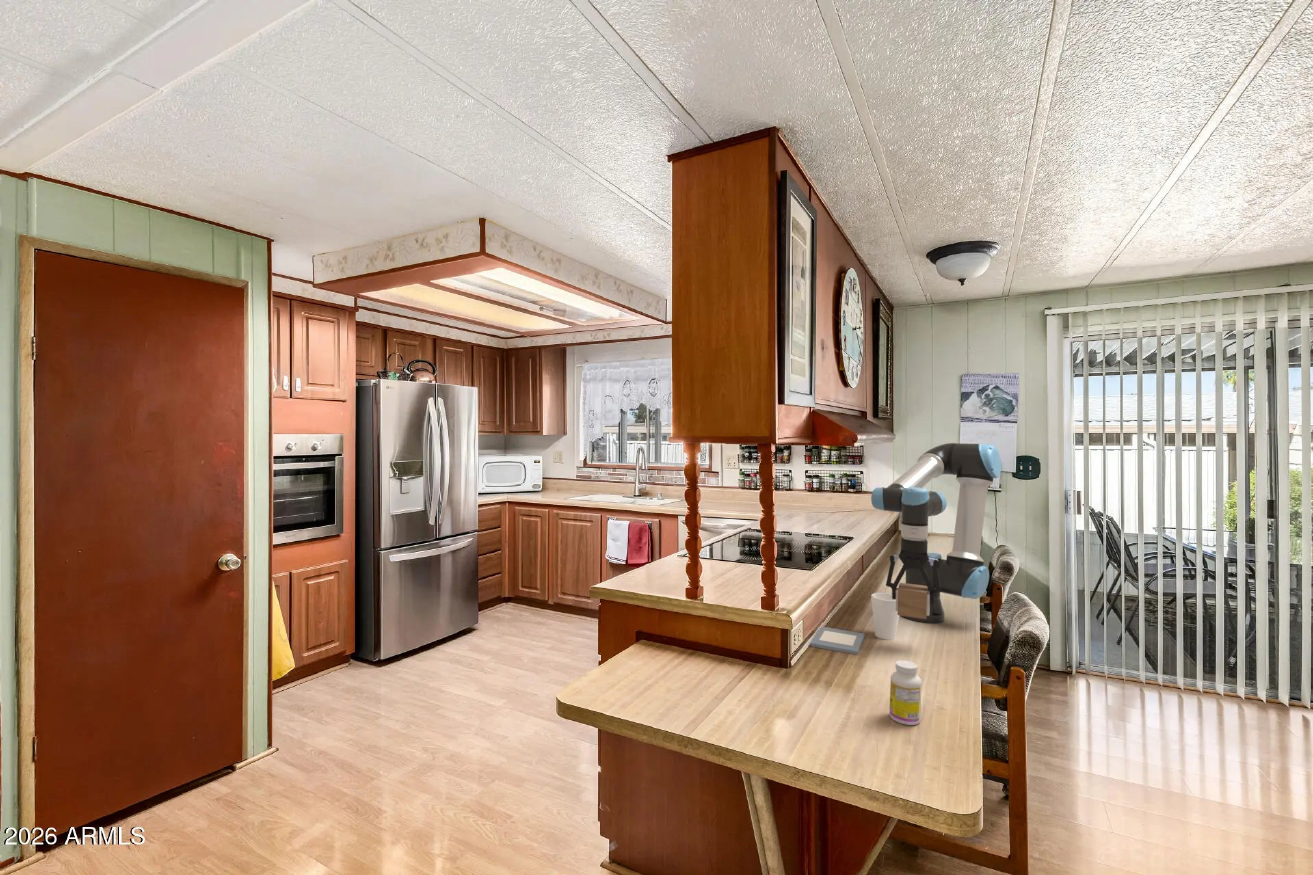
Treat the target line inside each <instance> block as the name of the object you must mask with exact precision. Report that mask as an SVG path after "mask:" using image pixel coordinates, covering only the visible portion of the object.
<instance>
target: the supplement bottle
mask: <svg viewBox="0 0 1313 875" xmlns="http://www.w3.org/2000/svg"><path fill="white" fill-rule="evenodd" d="M917 672H918V664H916V663H914V662H912V661H909V660H897V661H895V671H894V672H892V673H891V676H890V684H889V685H890V688H889V689H890V690H889V691H890V692H889V694H890V695H889V698H890V699H889V716H890V718H891V719H892V720H893V721H894V722H897V723H899V724H901V725H905V726H906V725H907V726H914V725H918V724H920V723H921V718H922V717H921V713H922V709H921V708H922V683H923V682H922V679H921V677H920V676H919V675H917V674H918V673H917Z"/></svg>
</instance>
